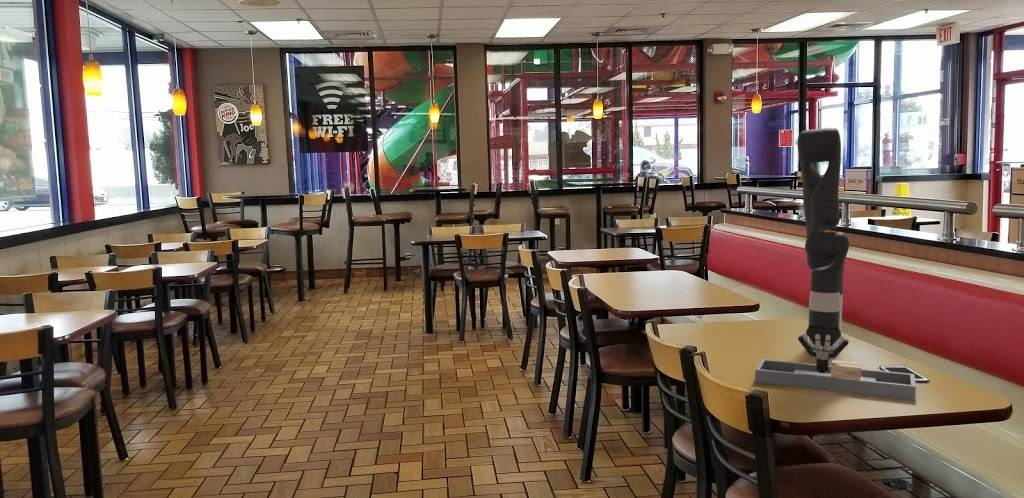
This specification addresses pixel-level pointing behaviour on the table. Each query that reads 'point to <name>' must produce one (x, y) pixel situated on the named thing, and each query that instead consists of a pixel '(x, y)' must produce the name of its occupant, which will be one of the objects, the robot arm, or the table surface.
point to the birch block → (846, 370)
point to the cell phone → (905, 369)
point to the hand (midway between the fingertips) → (821, 372)
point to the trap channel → (836, 379)
